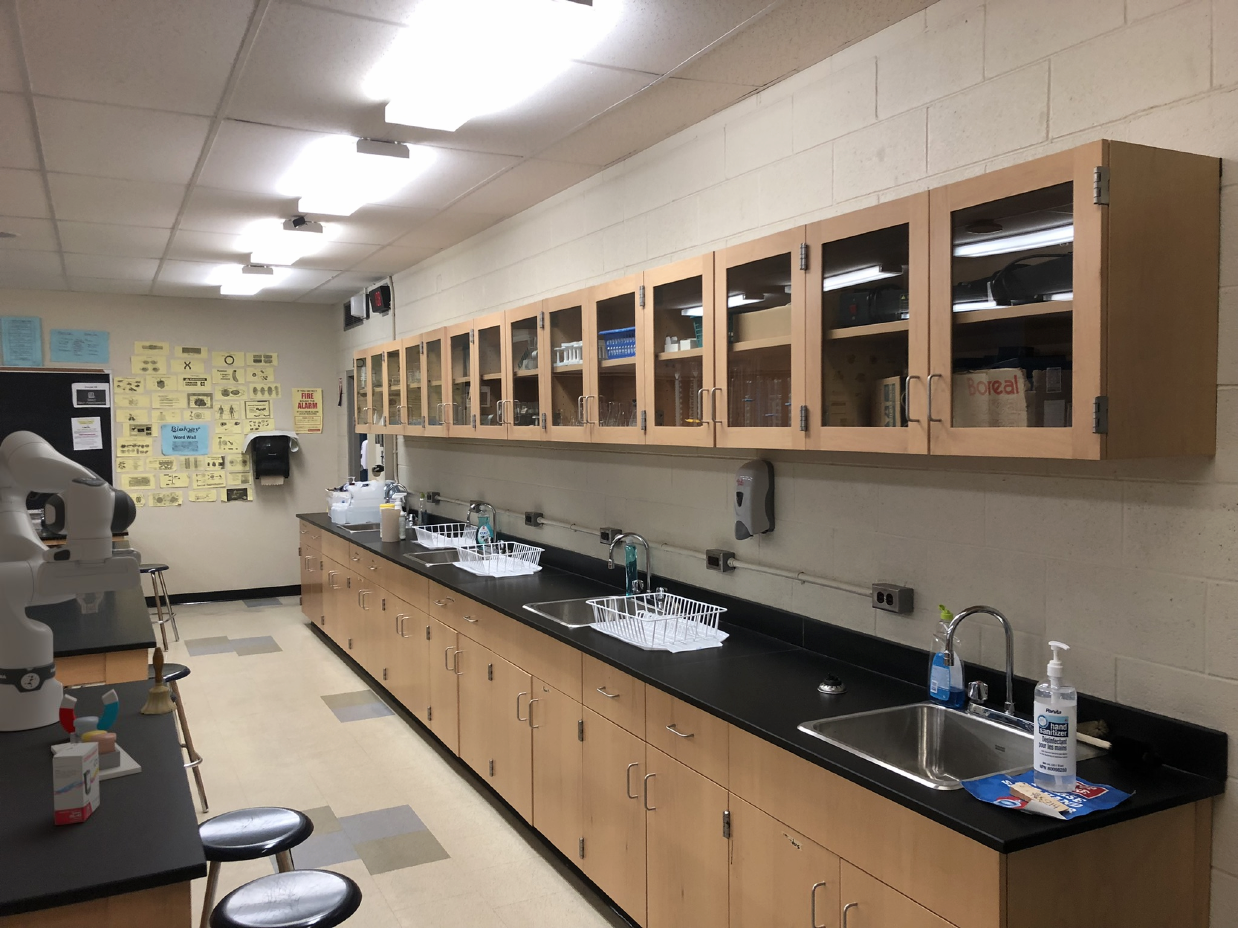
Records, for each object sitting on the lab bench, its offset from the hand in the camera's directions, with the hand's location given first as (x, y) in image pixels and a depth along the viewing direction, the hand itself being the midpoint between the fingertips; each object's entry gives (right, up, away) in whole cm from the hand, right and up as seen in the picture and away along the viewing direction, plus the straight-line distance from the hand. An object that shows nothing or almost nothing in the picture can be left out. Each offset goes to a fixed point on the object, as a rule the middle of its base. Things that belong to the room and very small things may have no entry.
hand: (89, 612), depth 201 cm
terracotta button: (+13, -27, -18) cm, 35 cm away
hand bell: (+2, -29, +27) cm, 40 cm away
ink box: (+22, -29, -41) cm, 55 cm away
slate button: (+2, -27, -6) cm, 27 cm away
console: (+8, -29, -12) cm, 32 cm away
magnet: (-3, -29, +5) cm, 30 cm away
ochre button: (+8, -28, -12) cm, 31 cm away
